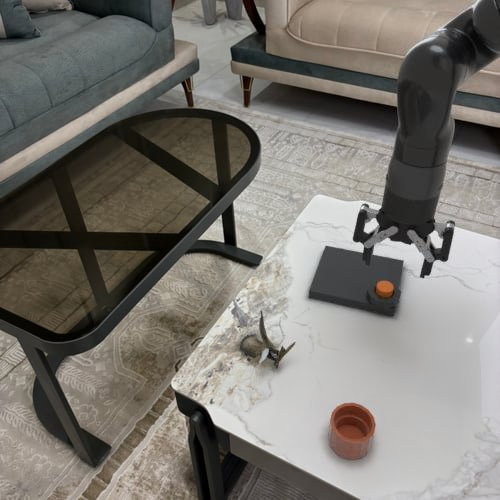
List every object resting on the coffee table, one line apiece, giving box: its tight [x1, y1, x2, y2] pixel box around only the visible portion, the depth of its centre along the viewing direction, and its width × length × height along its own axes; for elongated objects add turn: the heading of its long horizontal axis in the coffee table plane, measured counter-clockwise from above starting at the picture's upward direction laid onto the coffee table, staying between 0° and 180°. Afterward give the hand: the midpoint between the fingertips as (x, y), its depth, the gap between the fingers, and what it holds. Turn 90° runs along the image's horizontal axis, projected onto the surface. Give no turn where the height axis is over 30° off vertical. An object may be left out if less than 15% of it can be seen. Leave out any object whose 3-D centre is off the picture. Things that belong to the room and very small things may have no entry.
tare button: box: [376, 281, 394, 298], centre depth 91 cm, size 3×3×2 cm
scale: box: [308, 245, 405, 317], centre depth 97 cm, size 16×14×4 cm
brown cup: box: [327, 402, 377, 460], centre depth 72 cm, size 6×6×5 cm
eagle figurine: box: [239, 309, 296, 369], centre depth 84 cm, size 8×7×9 cm
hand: (394, 268), depth 80 cm, fingers open, 8 cm apart
